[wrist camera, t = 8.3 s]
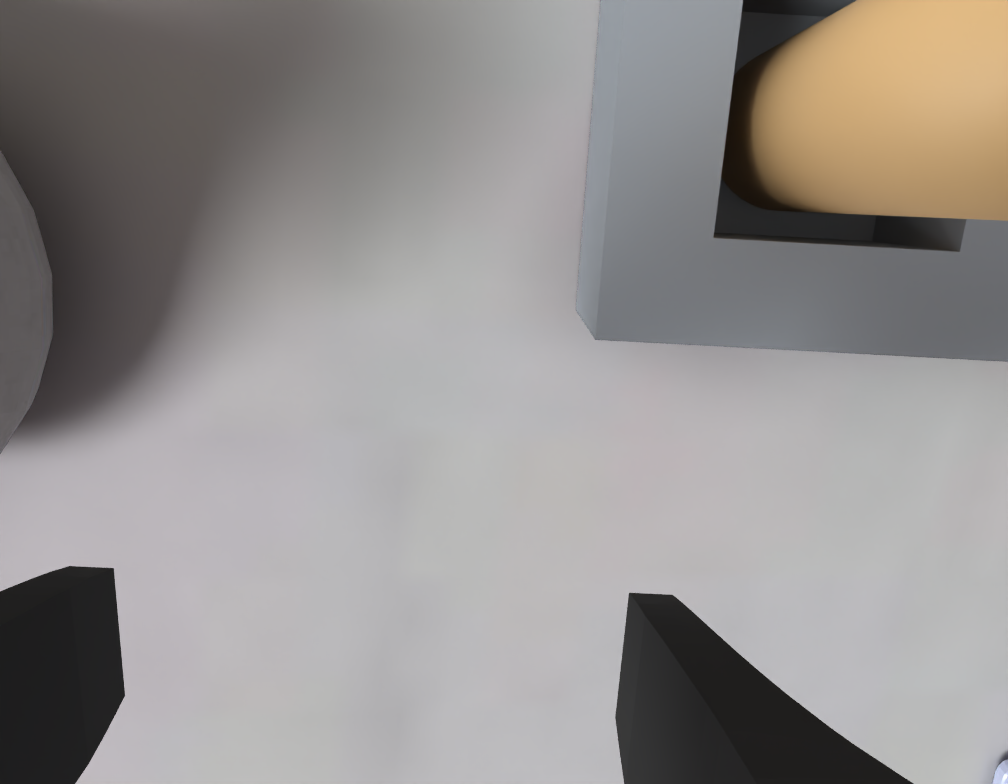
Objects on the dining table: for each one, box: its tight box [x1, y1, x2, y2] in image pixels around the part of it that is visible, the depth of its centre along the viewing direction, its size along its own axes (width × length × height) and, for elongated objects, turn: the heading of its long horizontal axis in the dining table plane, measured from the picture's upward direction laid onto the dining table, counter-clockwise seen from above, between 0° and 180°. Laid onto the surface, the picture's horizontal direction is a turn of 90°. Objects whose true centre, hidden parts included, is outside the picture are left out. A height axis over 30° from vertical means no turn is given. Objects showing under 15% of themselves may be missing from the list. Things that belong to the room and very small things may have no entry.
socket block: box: [576, 0, 1008, 362], centre depth 16 cm, size 9×9×4 cm
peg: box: [721, 0, 1008, 221], centre depth 12 cm, size 4×4×10 cm
